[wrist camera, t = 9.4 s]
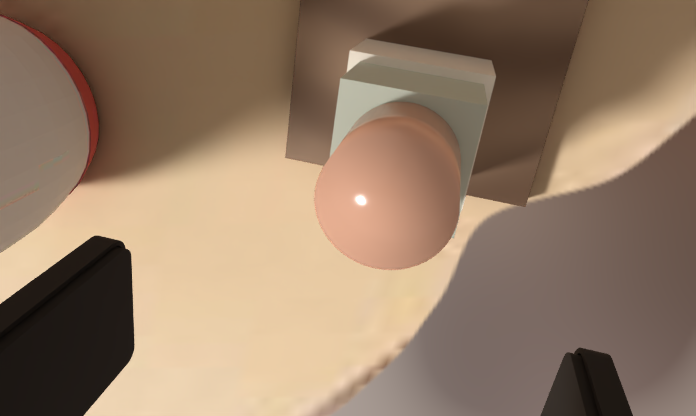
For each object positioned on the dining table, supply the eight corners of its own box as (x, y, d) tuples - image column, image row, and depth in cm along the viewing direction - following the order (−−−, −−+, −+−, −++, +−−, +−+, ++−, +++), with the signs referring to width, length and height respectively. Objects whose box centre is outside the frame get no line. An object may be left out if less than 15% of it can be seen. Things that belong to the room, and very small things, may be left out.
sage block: (359, 61, 26) (340, 78, 22) (484, 84, 26) (487, 105, 22) (342, 176, 29) (322, 209, 25) (455, 199, 28) (453, 238, 24)
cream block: (366, 38, 31) (349, 50, 26) (491, 60, 30) (496, 76, 26) (348, 155, 34) (331, 183, 29) (462, 178, 33) (461, 211, 28)
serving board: (324, -178, 28) (318, -184, 27) (625, -139, 26) (632, -144, 25) (290, 152, 36) (285, 157, 35) (523, 199, 34) (525, 207, 33)
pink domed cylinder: (352, 91, 23) (323, 121, 18) (473, 114, 22) (475, 151, 17) (335, 201, 25) (307, 253, 20) (446, 224, 24) (442, 283, 20)
